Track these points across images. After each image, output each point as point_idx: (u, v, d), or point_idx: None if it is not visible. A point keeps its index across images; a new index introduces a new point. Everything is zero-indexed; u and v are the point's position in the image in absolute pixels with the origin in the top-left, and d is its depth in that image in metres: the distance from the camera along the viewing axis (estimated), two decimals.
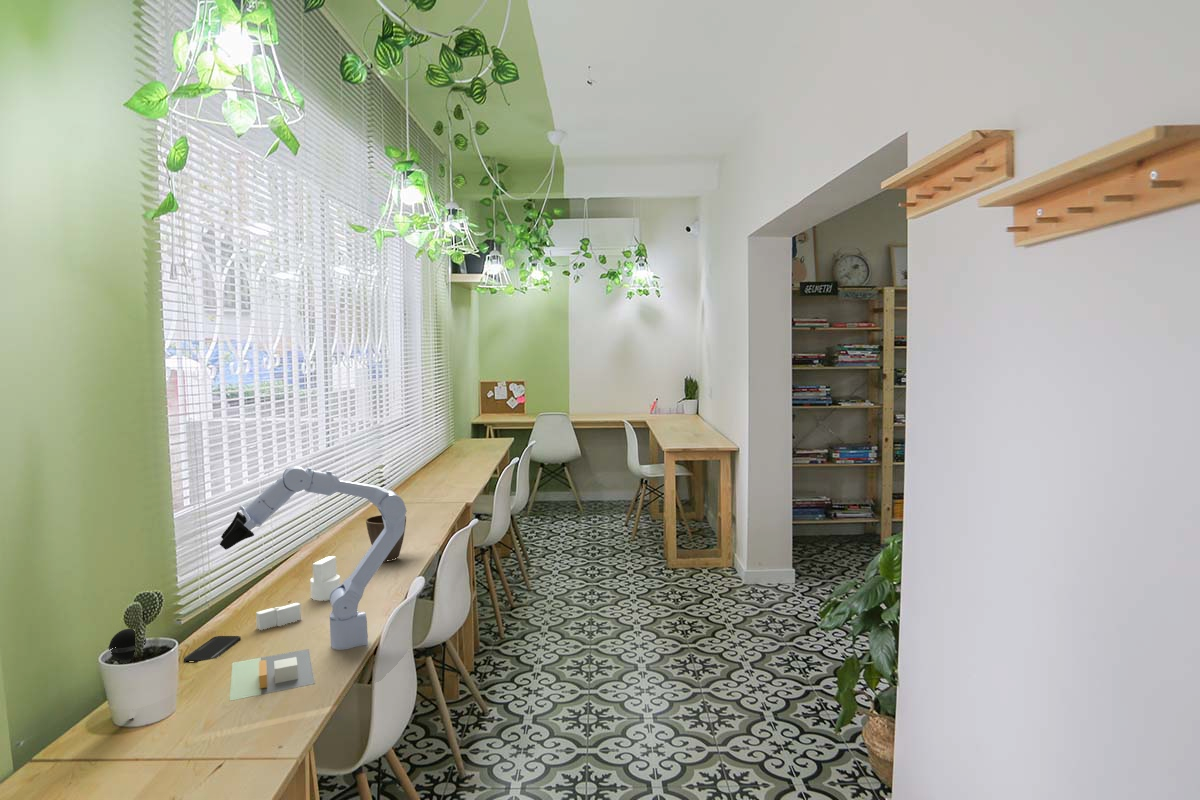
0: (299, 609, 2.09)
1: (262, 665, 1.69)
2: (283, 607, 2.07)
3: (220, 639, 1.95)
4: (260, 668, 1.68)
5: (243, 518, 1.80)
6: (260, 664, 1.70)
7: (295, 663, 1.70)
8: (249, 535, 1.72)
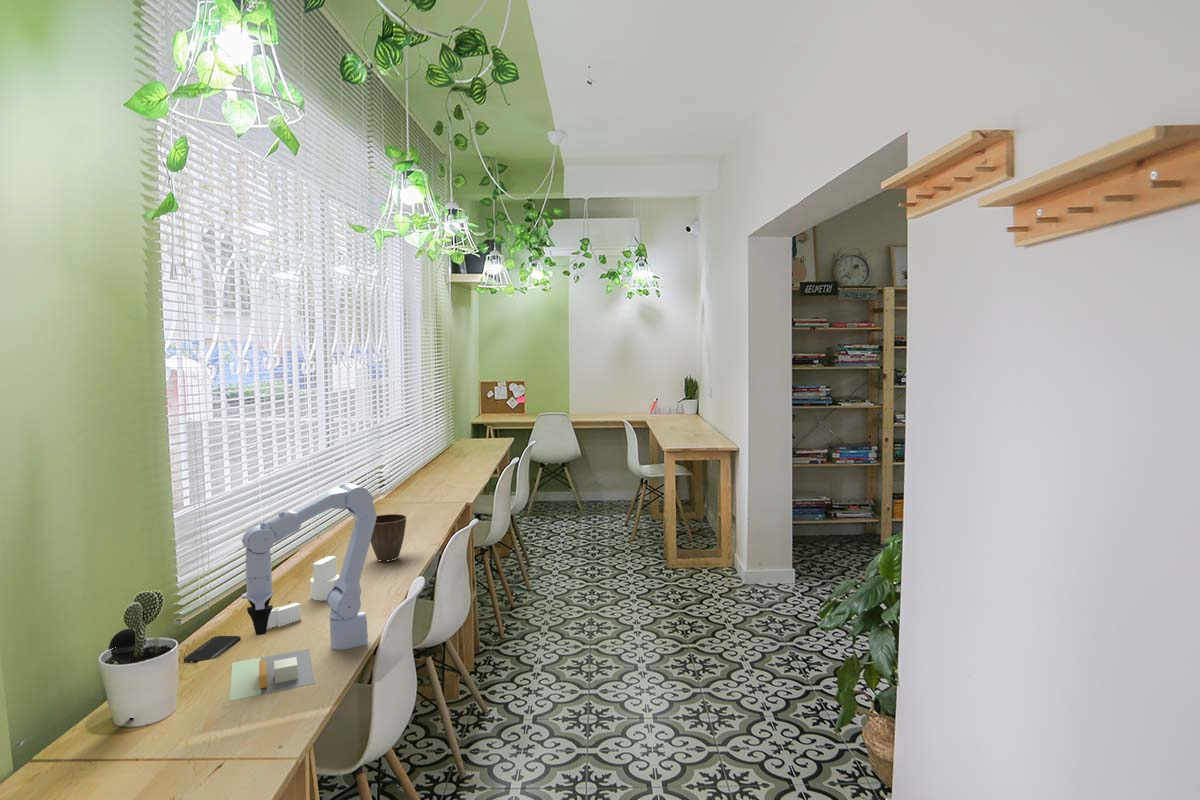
0: (299, 609, 2.09)
1: (262, 665, 1.69)
2: (283, 607, 2.07)
3: (220, 639, 1.95)
4: (260, 668, 1.68)
5: None
6: (260, 664, 1.70)
7: (295, 663, 1.70)
8: (269, 610, 1.71)
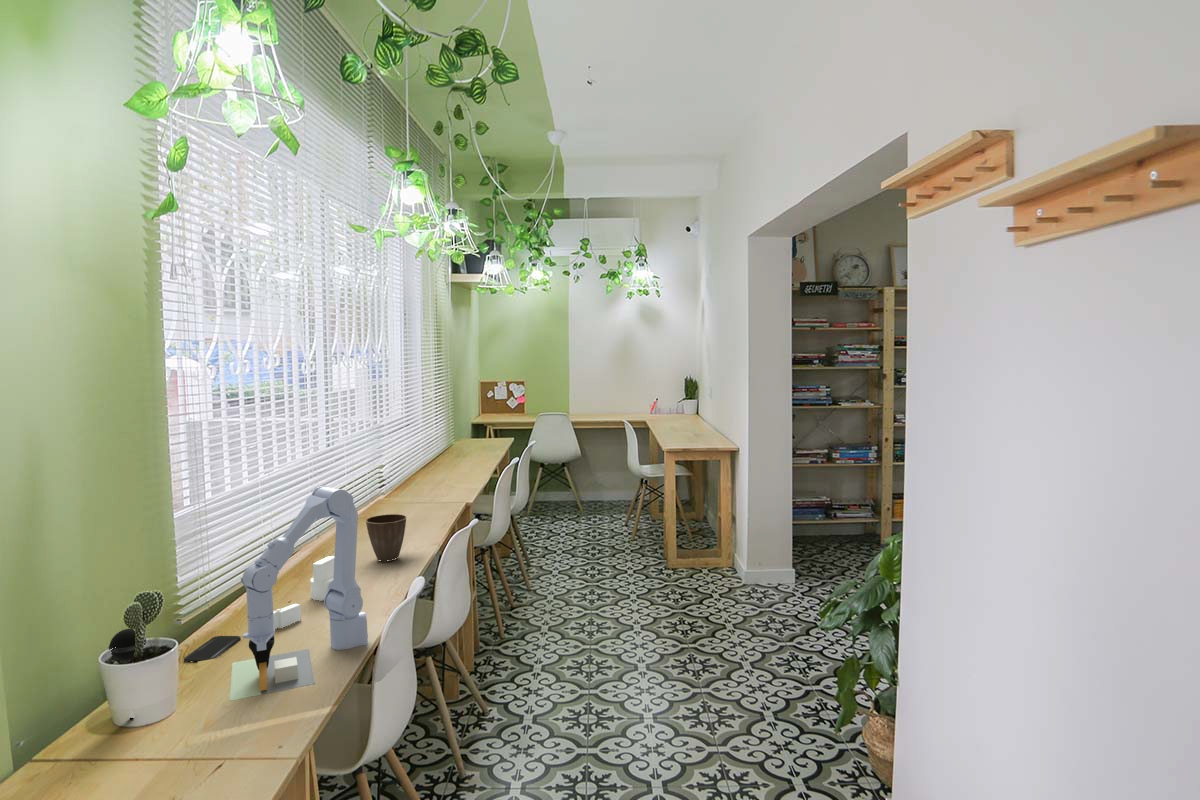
0: (299, 609, 2.09)
1: (262, 667, 1.68)
2: (284, 608, 2.06)
3: (220, 639, 1.95)
4: (260, 670, 1.66)
5: None
6: (260, 666, 1.69)
7: (295, 663, 1.70)
8: (270, 645, 1.70)
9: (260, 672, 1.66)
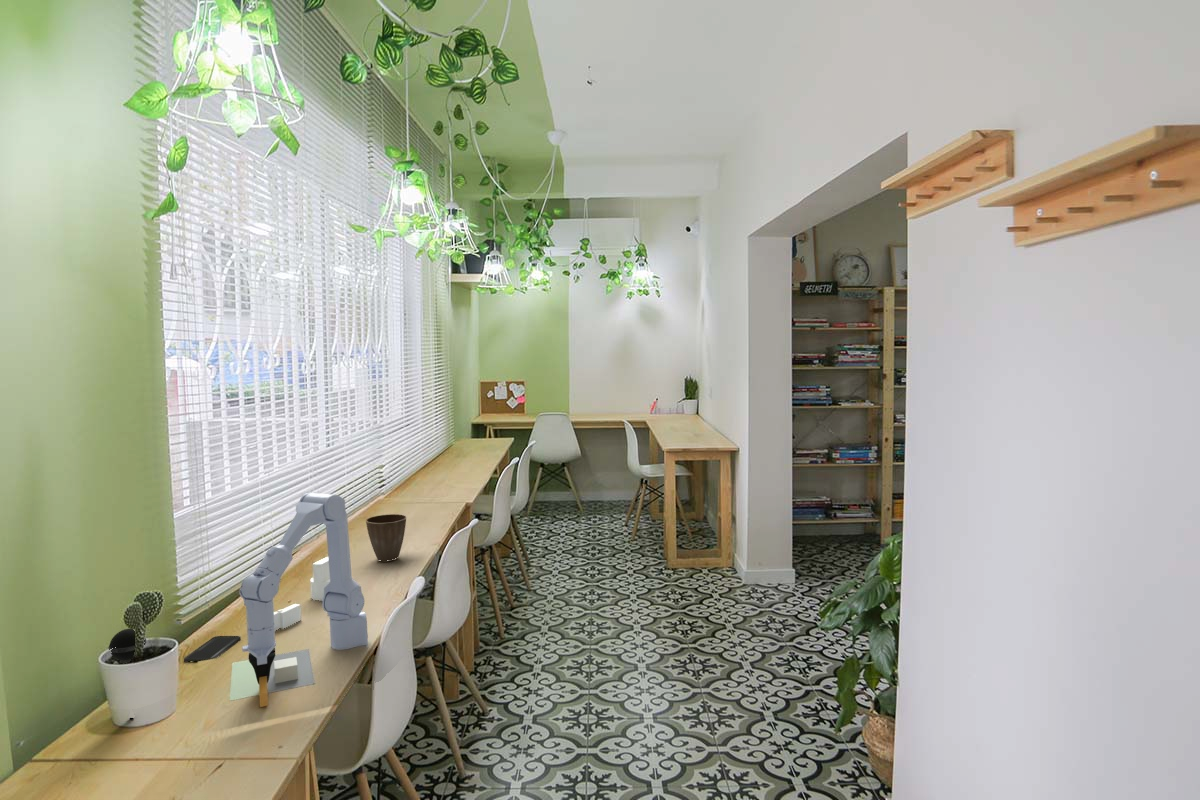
0: (299, 609, 2.09)
1: (263, 681, 1.61)
2: (285, 609, 2.05)
3: (220, 639, 1.95)
4: (260, 685, 1.59)
5: None
6: (260, 681, 1.61)
7: (295, 663, 1.70)
8: (271, 659, 1.63)
9: (260, 687, 1.58)
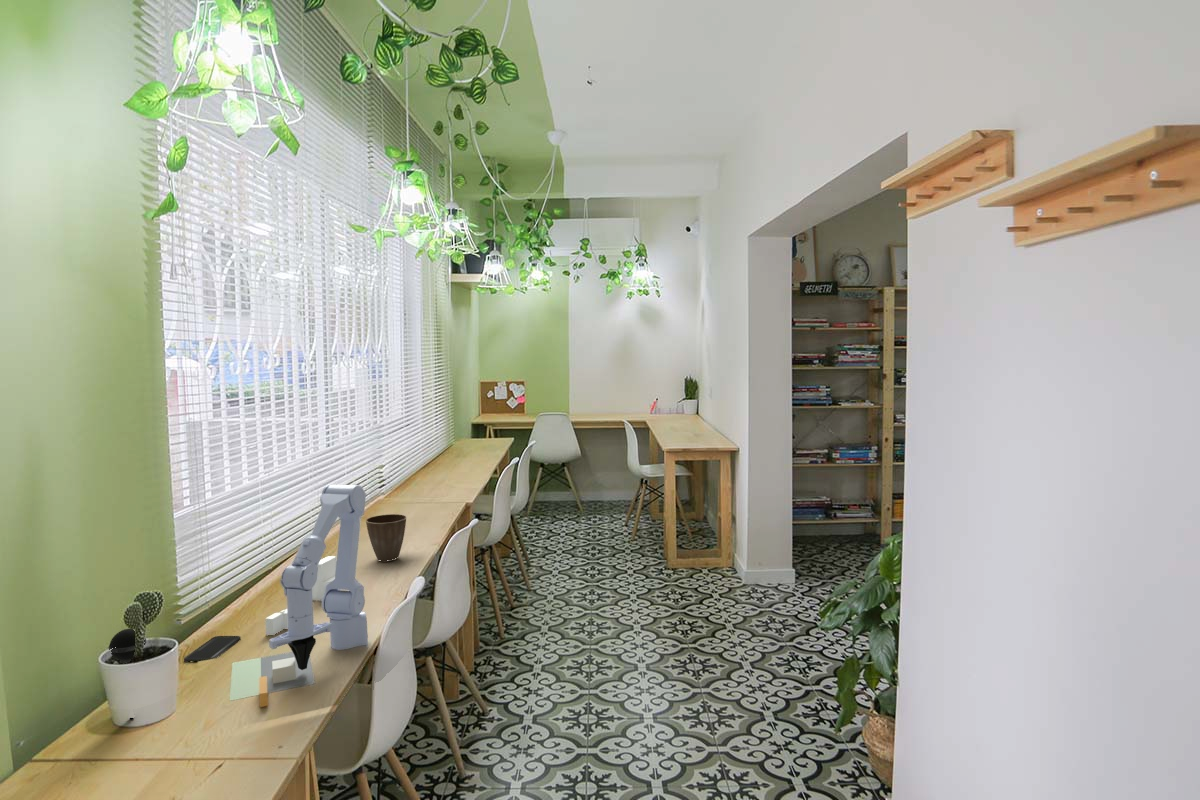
0: None
1: (263, 681, 1.61)
2: None
3: (220, 639, 1.95)
4: (260, 685, 1.59)
5: (300, 640, 1.72)
6: (260, 681, 1.61)
7: (293, 664, 1.69)
8: (295, 648, 1.68)
9: (260, 687, 1.58)
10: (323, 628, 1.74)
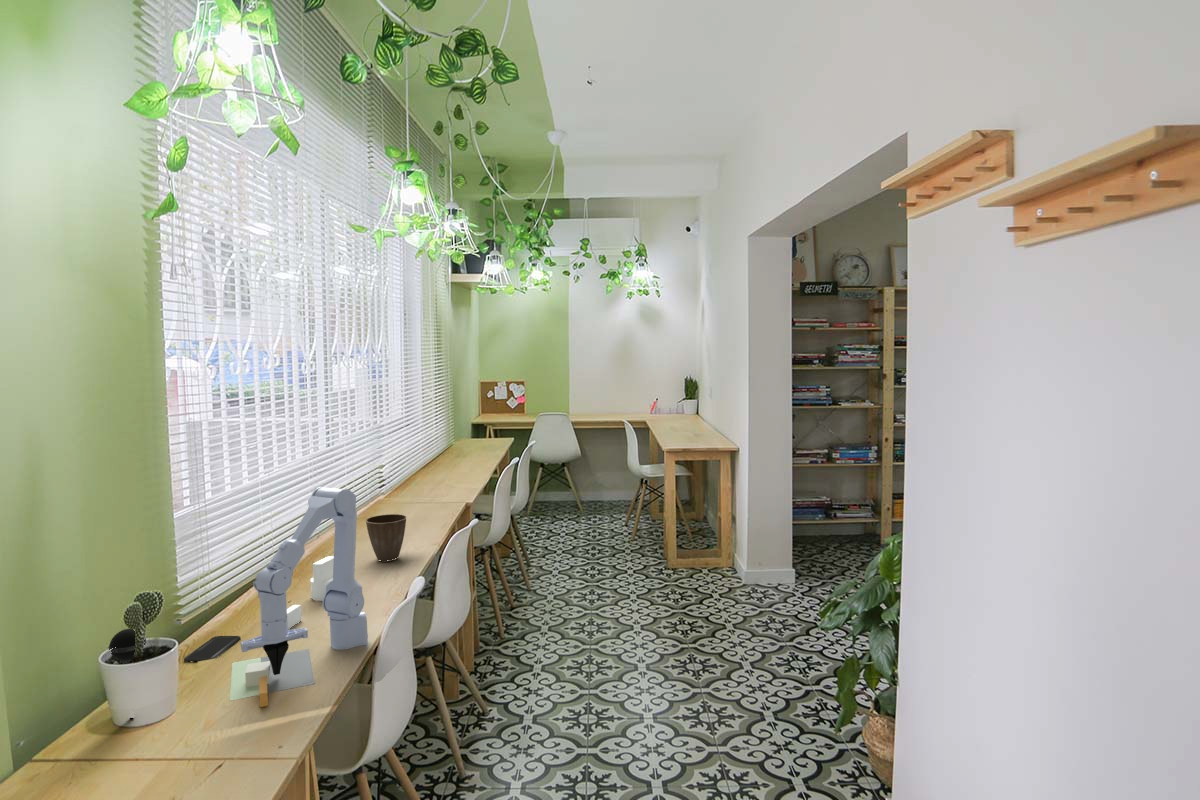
0: (300, 610, 2.08)
1: (263, 681, 1.61)
2: (288, 610, 2.04)
3: (220, 639, 1.95)
4: (260, 685, 1.59)
5: (275, 644, 1.70)
6: (260, 681, 1.61)
7: (267, 668, 1.67)
8: (266, 653, 1.66)
9: (260, 687, 1.58)
10: (298, 634, 1.71)
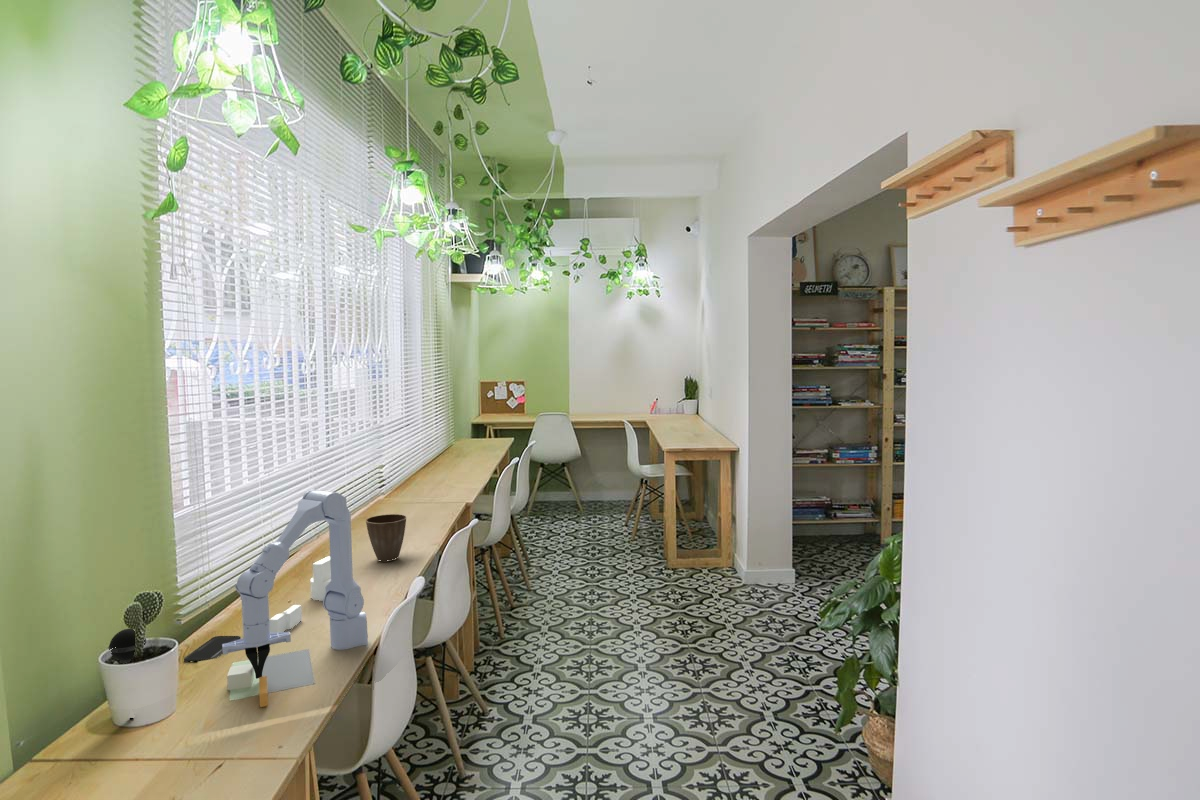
0: (300, 610, 2.08)
1: (263, 681, 1.61)
2: (289, 610, 2.04)
3: (220, 639, 1.95)
4: (260, 685, 1.59)
5: (257, 647, 1.68)
6: (260, 681, 1.61)
7: (249, 671, 1.66)
8: (247, 656, 1.64)
9: (260, 687, 1.58)
10: (280, 638, 1.68)
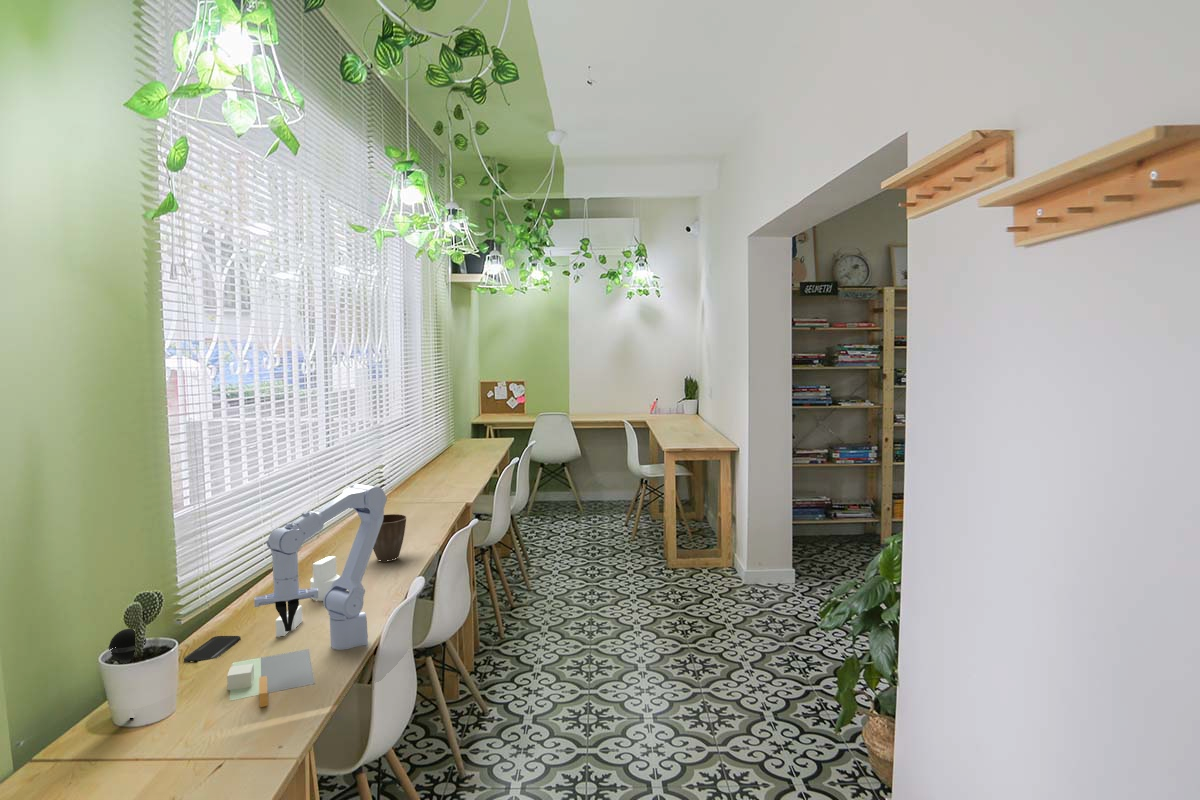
0: (301, 610, 2.08)
1: (263, 681, 1.61)
2: None
3: (220, 639, 1.95)
4: (260, 685, 1.59)
5: None
6: (260, 681, 1.61)
7: (249, 671, 1.66)
8: (276, 609, 1.72)
9: (260, 687, 1.58)
10: (308, 593, 1.76)
